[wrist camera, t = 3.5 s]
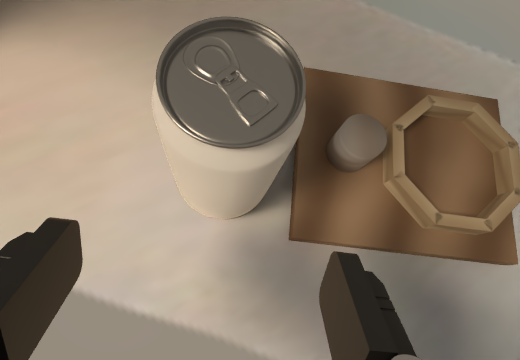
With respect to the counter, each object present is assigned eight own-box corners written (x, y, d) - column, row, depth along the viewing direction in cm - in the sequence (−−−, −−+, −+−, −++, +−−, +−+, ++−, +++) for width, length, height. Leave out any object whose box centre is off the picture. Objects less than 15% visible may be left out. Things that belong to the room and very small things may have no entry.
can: (227, 116, 26) (240, -19, 14) (287, 180, 25) (351, 91, 13) (156, 169, 24) (105, 63, 12) (218, 240, 23) (224, 197, 12)
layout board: (288, 240, 24) (304, 231, 20) (300, 76, 27) (315, 40, 23) (504, 265, 25) (559, 261, 21) (486, 106, 29) (529, 78, 25)
